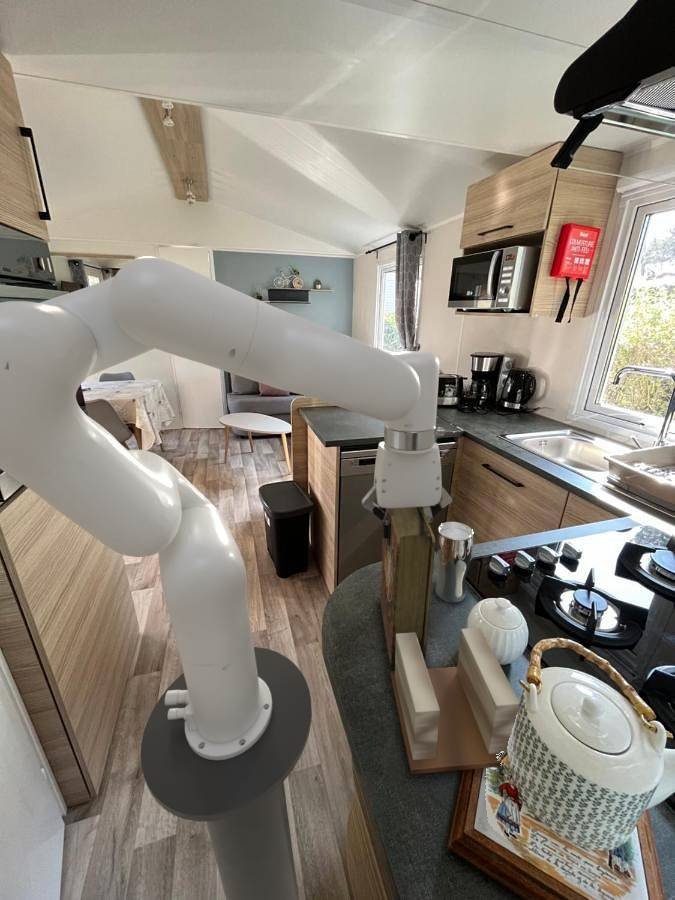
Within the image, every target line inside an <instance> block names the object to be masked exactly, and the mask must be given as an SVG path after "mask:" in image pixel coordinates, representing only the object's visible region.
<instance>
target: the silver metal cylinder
mask: <svg viewBox="0 0 675 900" xmlns="http://www.w3.org/2000/svg"><path fill="white" fill-rule="evenodd" d="M473 549H474V531H473V529H472V528H471V527H470V526H469V525H467V524H464V523H462V522H458V521H446V522H442V523H441V524H439V526H438V527H437V535H436V540H435V559H436V566H437V581H436V584H435V588H434V590H435V591H434V592H435V594H436V596H437V597H438V598H439V599H441V600H442V601H444V602H447V603H460V602H462V601H463V600H464V599H465V598H466V595H467V594H466V584H465V583H466V578H467V574H468V571H469V568H470V565H471V563H472V558H473Z"/></svg>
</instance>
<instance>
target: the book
mask: <svg viewBox="0 0 675 900" xmlns="http://www.w3.org/2000/svg"><path fill="white" fill-rule="evenodd" d="M390 524H391V535H390V546H389V545H388V542H387V539H384V538H383V537H382V555H381V580H380V581H381V582H380V583H381V584H380V609H381V615H382V622H383V627H384V634H385V640H386V641H385V642H386V647H387V655H388V659H389V665H390V667H394V666H395V651H396V634H398V633H412V632H415V633H416V636H417V639H418V642H419V645H420V648H421V652H422V655H423V658H424V661H425V662H426V653H427V644H428V643H427V642H428V631H429V618H430V608H431V597H432V585H433V576H434V575H433V574H434V562H435V554H436V536H435V534H434V532H433V530H432V528H431V525H429V523H428V521H427V518H426V516H425V515H424V514H423V510H422V508H420V507H410V508H395V509H394V513H393V516H391V522H390Z"/></svg>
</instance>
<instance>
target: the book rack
mask: <svg viewBox="0 0 675 900" xmlns="http://www.w3.org/2000/svg"><path fill="white" fill-rule="evenodd" d="M459 635H460V638H459V646H458V655H457V666H449V667H448V666H447V667H437V668H436V667H435V668H427V665H426V660H425V661H424V658H423V655H422V652H421V648H420V645H419V642H418V639H417V636H416V633H415V632H412V633H398V634H396V651H395V664H394V670H393V671H390V673H389V674H390V676H389V677H390V681H391V687H392V691H393V696H394V700H395V705H396V710H397V715H398V720H399V724H400V725H399V726H400V730H401V734H402V740H403V744H404V748H405V749H404V750H405V754H406V758H407V763H408V768H409V773H410V775H419V774H433V773H443V772H453V771H454V772H455V771H456V772H457V771H467V770H478V769H479V770H480V769H489V768H491V769H492V768H500V767H501V766H500V765H501V764H500V763H501V761H497V760H498V759H499V758H498V759H497V758H496V757H497V756H499V755H500V754H501V755H502V753H500V752H501V751H506V750H507V746H508V741H509V738H510V735H511V731H512V728H513V726H514V723H515V719H516V715H517V712H518V707H519V703H520V701H519V699H518V697H517V695H516V693H515V691H514V689H513V687H512V686H511V684H510V682H509V679H508V678H507V675H506V674H505V672H504V670H503V668H502V666H501V665H500V662H499V660H498V659H497V657H496V655H495V653H494V651H493V648H492V647H491V645H490V643H489V642H488V639H487V637H486V636H485V633H484V632H483V630H482V628H481V627H470V628H469V627H468V628H461V629H460V634H459ZM519 708H520V707H519ZM518 713H519V712H518ZM499 753H500V754H499ZM496 754H499V755H496ZM501 755H500V756H499V757H501ZM501 758H502V757H501ZM501 768H502V767H501Z"/></svg>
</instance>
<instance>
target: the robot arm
mask: <svg viewBox="0 0 675 900" xmlns="http://www.w3.org/2000/svg"><path fill="white" fill-rule="evenodd" d="M154 349H155V350H159V351H160V352H161V351H162V352H165V353H167V354H170V355H173V356H177V357H179V358H183V359H186V360H189V361H192V362H196V363H199V364H203V365H205V366H209V367H212V368H214V369H218V370H221V371H224V372H227V373H229V374H232V375H236V376H239V377H242V378H245V379H248V380H251V381H254V382H257V383H260V384H263V385H265V386H269V387H271V388H274V389H278V390H280V391H285V392H290V393H293V394H297V395H301V396H305V397H308V398H312V399H315V400H318V401H321V402H324V403H327V404H330V405H332V406H336V407H339V408H342V409H345V410H348V411H351V412H355V413H357V414H359V415H363V416H366V417H369V418H372V419H376V420H378V421H381V422H384V427H383V429H384V430H383V431H384V432H383V434H384V435H383V439H384V440H383V441H380V442H379V443H378V446H377V450H376V455H375V456H376V457H375V465H374V477H373V479H374V480H373V486H372V487H371V488H370V490H368V492H367V493H366V495H365V496H363V498H362V499H361V506H362V507H363V508H364V509H366V510H367V511H369V512H371V513H373V515H374V516H375V517H376V518H378V519H379V520H380V521H382V529H381V530H382V533H381V534H382V539H383V538H384V539H387V542H388V545H389V546H390V535H391V524H390V522H391V516H393V513H394V509H395V508H410V507H420V508H422V510H423V514H424V515H425V516H426V518H427V521H428V523H429V525H430V524H431V523H432V522H433V521H434V517H435V516H437V515H438V514H439V513H441V511H442V509H444V508H446V507H447V506H448V505H450V504H451V503H452V502H453V498H452V497H451V495H450V494H449V493H448V491H447V490H446V488H444V486H443V485H442V484H443V483H442V481H443V480H442V464H441V453H440V447H439V444H438V443H437V440H438V438H440V437H445V434H446V432H445V431H446V430H445V428H444V427H439V426H437V423H436V422H437V413H438V412H437V411H438V397H439V395H438V394H439V378H440V361H439V357H438V356H437V355H436V354H435V353H432V352H429V351H415V350H414V351H398V352H395V353H388V352H387V351H385V350H383V349H380V348H378V347H375V346H373V345H371V344H369V343H366V342H364V341H361V340H359V339H356V338H355V337H351V336H350V335H346V334H344V333H341V332H338V331H336V330H333V329H331V328H328V327H325V326H323V325H320V324H318V323H315V322H313V321H311V320H309V319H306V318H304V317H301V316H298V315H296V314H294V313H290V312H288V311H285V310H283V309H280V308H279V307H275V306H273V305H271V304H269V303H266V302H264V301H263V300H260V299H257V298H255V297H253V296H250V295H248V294H245V293H243V292H241V291H239V290H237V289H235V288H233V287H230V286H228V285H226V284H224V283H221V282H220V281H217V280H215V279H212V278H210V277H208V276H206V275H203V274H202V273H200V272H197V271H194V270H193V269H190V268H188V267H186V266H184V265H182V264H181V265H180V264H179V263H176V262H173V261H171V260H167V259H165V258H162V257H157V256H139V257H136V258H134V259H131V260H129V261H128V262H126V263H125V264H123V266H122V267H121V268H119V269H118V271H117V272H116V274H115V275H114V276H112V277H109V278H107V279H105V280H103V281H99V282H97V283H94V284H91V285H88V286H86V287H83V288H80V289H77V290H74V291H71V292H68V293H65V294H62V295H59V296H56V297H53V298H50V299H46V300H44V301H40V302H36V301H28V300H8V301H2V302H0V470H2V471H3V472H5V473H6V474H8V475H9V476H10V477H12V478H13V479H15V480H16V481H17V482H19V483H21V484H22V485H23V486H25V487H26V488H27V489H29V490H31V491H32V492H33V493H35V494H36V495H37V496H38V497H40V498H41V499H42V500H43V501H45V502H46V503H47V504H48V505H49V506H51V507H52V508H53V509H55V510H56V511H58V512H59V513H60V514H61V515H63V516H65V517H66V518H67V519H68V520H70V521H71V522H72V523H74V524H75V525H76V526H78V527H80V528H81V529H82V530H83V531H84V532H86V533H88V534H89V535H90V536H92V537H93V538H94V539H96V540H97V541H98V542H100V543H101V544H103V546H105V547H107V548H108V549H110V550H112V551H114V552H116V553H118V554H121V555H124V556H127V557H133V558H143V557H150V556H153V555H157V554H158V564H159V565H158V566H159V574H160V582H161V588H162V594H163V599H164V603H165V607H166V610H167V614H168V617H169V620H170V623H171V627H172V631H173V634H174V640H175V643H176V647H177V652H178V655H179V660H180V663H181V667H182V672H183V673H184V676H185V680H186V685H187V689H188V690H169V691H167V693H166V696H165V705H166V706H169V705H179V704H186V705H187V706H186V707H185V708H170V709H169V711H168V720H174V719H180V718H184V720H185V734H186V738H187V741H188V743H189V746H190V747H191V748H192V750H193V751H194V752H195V753H196V754H198V755H199V756H200V757H203V758H206V759H209V760H225V759H229V758H233V757H235V756H237V755H239V754H241V753H243V752H245V751H246V750H248V749H249V748H250V747H252V746H253V745H254V744H255V743H256V742H257V741H258V740H259V739H260V737H261V736H262V735H263V733H264V732H265V730H266V728H267V726H268V724H269V721H270V718H271V714H272V697H271V693H270V690H269V688H268V686H267V685H266V683H265V682H264V681H263V680H262V679H261V678H259V677H258V673H257V666H256V659H255V652H254V647H255V646H254V645H255V644H254V638H253V632H252V625H251V620H250V612H249V604H248V603H249V602H248V575H247V569H246V565H245V561H244V558H243V556H242V552H241V551H240V548H239V545H238V544H237V542H236V540H235V537H234V536H233V534H232V532H231V529H230V528H229V525H228V524H227V521H226V520H225V518H224V516H223V514H222V513H221V511H220V509H218V508H217V507H216V506H215V505H214V504H213V503H212V501H211V500H209V499H208V498H207V497H206V496H205V495H204V494H203V493H202V492H201V491H200V490H199V489H197V487H196V486H195V485H194V484H192V482H190V481H189V480H188V479H187V478H186V477H185V476H184V475H183V474H182V473H181V472H180V471H178V469H177V468H176V467H174V466H173V465H172V464H171V463H170V462H169V461H168V460H166V459H165V458H163V457H162V456H161V455H158V454H157V453H154V452H152V451H149V450H145V449H127V448H126V447H125V446H124V445H123V444H122V443H120V441H118V440H117V438H115V436H114V435H113V434H112V433H110V432H109V431H108V430H107V429H106V428H105V427H104V426H102V425H101V424H99V423H98V422H96V421H95V420H94V419H93V418H91V417H90V416H89V415H87V414H86V413H85V412H84V410H82V408H81V407H80V405H79V403H78V400H77V392H78V389H79V388H80V386H81V385H82V384H83V383H84V382H85V381H86V379H87V378H88V377H91V376H93V375H95V374H97V373H100V372H102V371H105V370H107V369H109V368H112V367H115V366H117V365H119V364H122V363H124V362H127V361H129V360H131V359H134V358H136V357H139V356H140V355H144V354H145V353H148V352H150V351H152V350H154ZM376 499H377V502H376V503H375V501H376ZM430 526H431V525H430Z"/></svg>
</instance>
